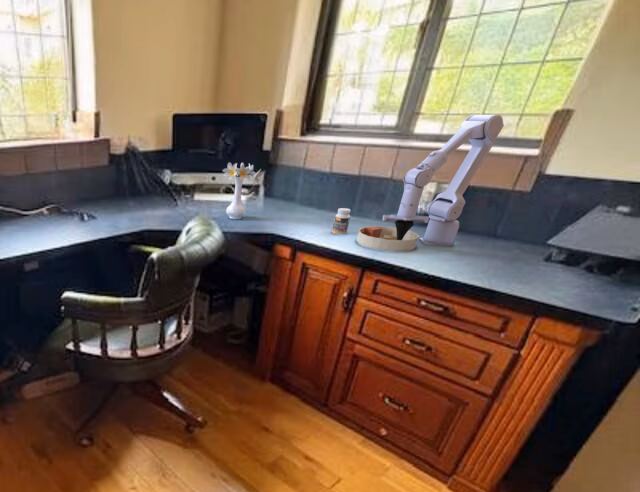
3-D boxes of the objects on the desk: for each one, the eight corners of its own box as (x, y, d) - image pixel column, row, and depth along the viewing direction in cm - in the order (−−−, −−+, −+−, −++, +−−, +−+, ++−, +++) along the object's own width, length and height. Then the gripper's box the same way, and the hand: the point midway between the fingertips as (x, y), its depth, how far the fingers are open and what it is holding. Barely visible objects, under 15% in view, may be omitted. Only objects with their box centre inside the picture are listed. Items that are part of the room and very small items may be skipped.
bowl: (408, 239, 167) (411, 227, 165) (421, 254, 151) (425, 242, 148) (352, 235, 173) (355, 225, 171) (359, 250, 156) (362, 238, 154)
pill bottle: (331, 234, 176) (336, 210, 171) (332, 230, 180) (337, 207, 175) (345, 235, 173) (351, 211, 169) (346, 232, 178) (352, 208, 173)
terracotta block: (379, 238, 166) (381, 228, 164) (370, 239, 165) (373, 229, 164) (371, 236, 170) (374, 226, 168) (363, 237, 169) (365, 227, 167)
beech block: (391, 247, 156) (395, 236, 154) (392, 250, 153) (396, 239, 151) (380, 245, 158) (383, 234, 156) (380, 248, 155) (384, 237, 153)
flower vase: (252, 222, 195) (259, 165, 183) (214, 219, 203) (218, 163, 191) (259, 216, 205) (266, 161, 193) (222, 213, 213) (226, 160, 201)
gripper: (389, 205, 151) (379, 242, 158) (435, 207, 147) (423, 244, 154) (385, 201, 157) (376, 237, 164) (430, 203, 153) (418, 239, 160)
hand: (398, 240), depth 159 cm, fingers closed
